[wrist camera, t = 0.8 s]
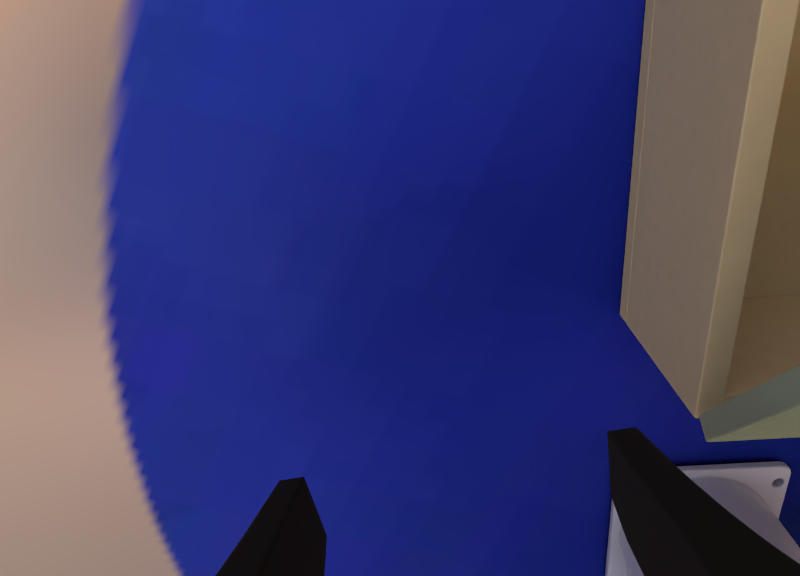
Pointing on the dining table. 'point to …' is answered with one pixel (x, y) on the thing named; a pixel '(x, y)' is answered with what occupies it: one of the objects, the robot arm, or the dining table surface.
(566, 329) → the dining table surface
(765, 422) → the lid
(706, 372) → the wooden box
